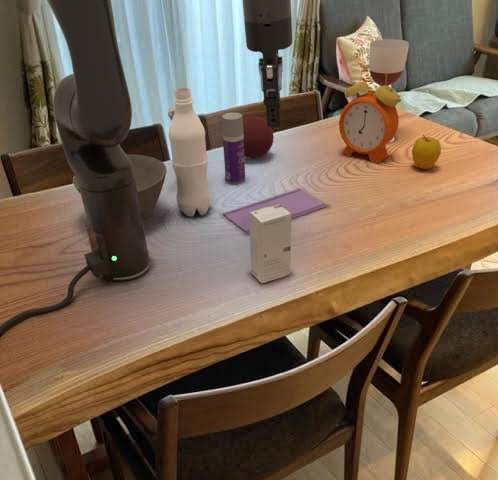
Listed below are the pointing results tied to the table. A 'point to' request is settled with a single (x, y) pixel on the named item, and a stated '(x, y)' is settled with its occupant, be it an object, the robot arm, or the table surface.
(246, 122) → the decorative ball
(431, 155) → the apple
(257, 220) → the cosmetic box
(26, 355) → the table surface
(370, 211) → the table surface
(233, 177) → the container
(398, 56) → the wineglass
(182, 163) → the water bottle
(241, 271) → the table surface
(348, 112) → the alarm clock
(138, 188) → the bowl
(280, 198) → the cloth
